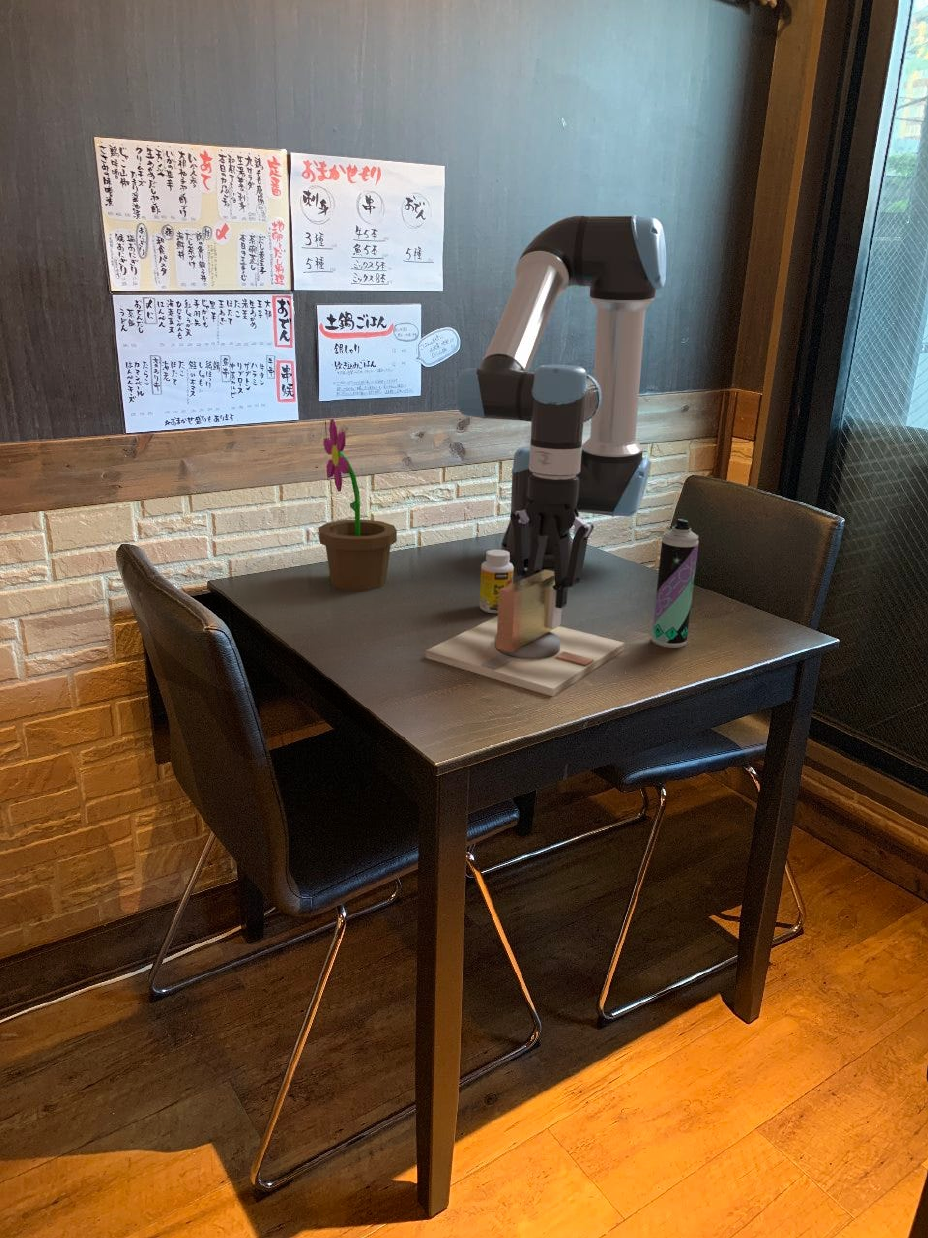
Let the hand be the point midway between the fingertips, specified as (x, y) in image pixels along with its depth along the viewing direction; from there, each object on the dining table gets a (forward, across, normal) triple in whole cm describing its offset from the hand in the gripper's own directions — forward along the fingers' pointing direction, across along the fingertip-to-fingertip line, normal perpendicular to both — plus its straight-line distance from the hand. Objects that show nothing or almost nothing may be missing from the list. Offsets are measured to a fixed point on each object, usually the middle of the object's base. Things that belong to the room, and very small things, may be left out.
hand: (544, 623), depth 145 cm
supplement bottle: (+4, -15, +9) cm, 18 cm away
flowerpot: (+4, -43, +5) cm, 43 cm away
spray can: (+4, +15, +14) cm, 21 cm away
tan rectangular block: (+1, 0, -5) cm, 5 cm away
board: (+4, 0, -5) cm, 6 cm away
